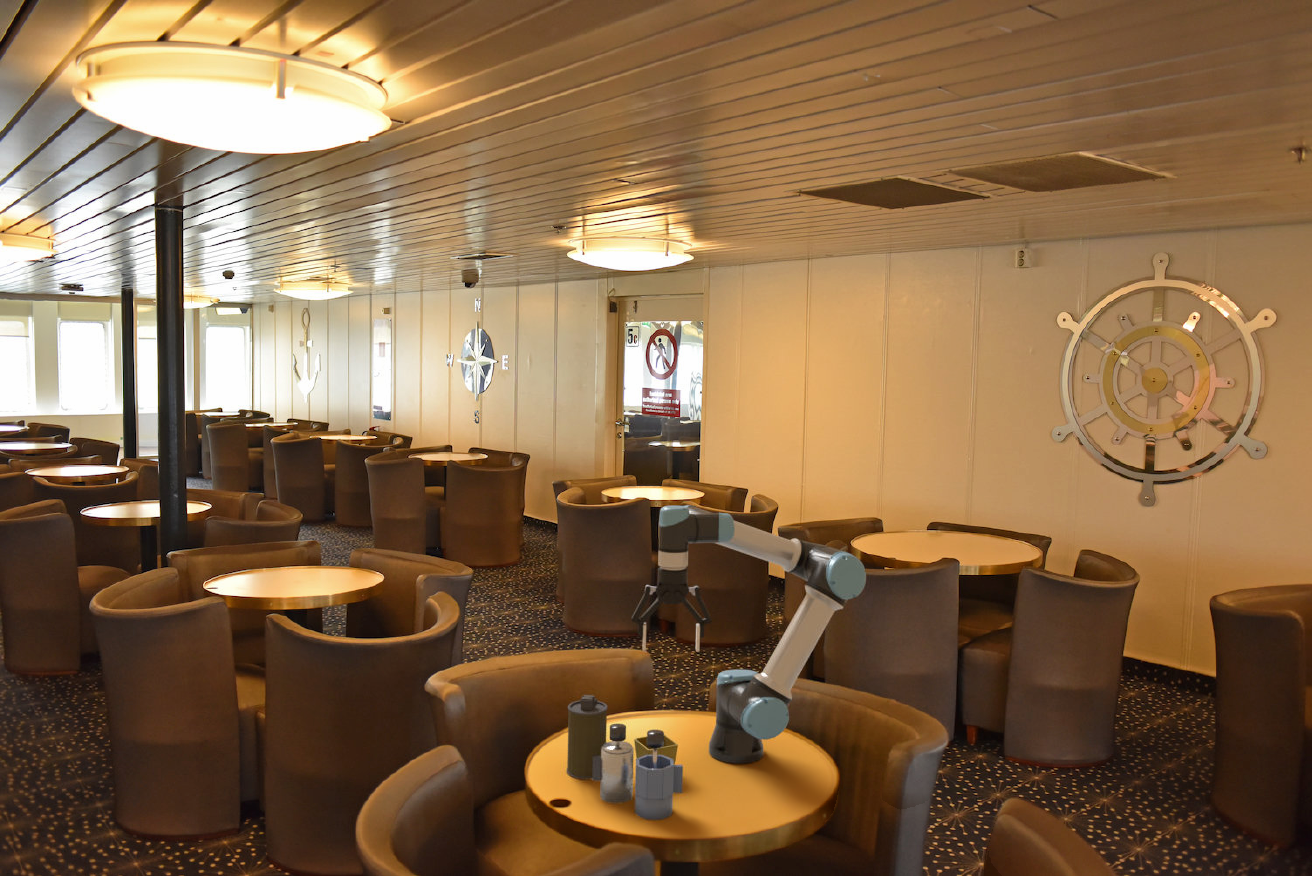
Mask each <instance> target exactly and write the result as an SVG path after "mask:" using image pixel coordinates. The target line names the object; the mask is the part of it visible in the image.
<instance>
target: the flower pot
mask: <svg viewBox="0 0 1312 876" xmlns="http://www.w3.org/2000/svg"><path fill="white" fill-rule="evenodd" d="M633 741H634V751H635V757H636V759H637V758H639V757H642V756H644V755H653V748H650V747H648V746H647V735H646V736H641V737H635V738H634V739H633ZM678 747H679V744H678V743H677V742H676V741H674V740H673V739H671V738H670V737H669V736H667V735H666V734H665V733H664V746H663V747H661V748H657V755H664V756H666V757H669V758H671V759H673V761H674V765H676V762H677V761H676V760H677V756H678V755H677V754H678Z"/></svg>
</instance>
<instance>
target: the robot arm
mask: <svg viewBox="0 0 1312 876" xmlns="http://www.w3.org/2000/svg"><path fill="white" fill-rule="evenodd" d="M690 544H717V545H719V546H723V547H725V548H728V549H731V550H733V551H737V552H740V553H742V554H745V555H747V556H748V555H749V556H751V557H754V558H756V559H760V560H763V561H766V562H767V563H768V562H769V563H771V564H775V565H778V566H780V567H781V569H782V570H783V571H785V572H787V573H790V574H793V575H794V576H796V577H799V578H800V579H802V580H803V581H805V582H806V583H805V585H804V589H805V593H806V594H805V596H804V598H803V599H802V601H801V603H800V604H799V607H798V608H797V610H796V612H795V613H794V616H793V617H792V618H791V621H790V622H789V624H788V626H787V628H786V629H785V632H784V633H783V635H782V637H781V638H780V640H779V642H778V644H777V646H776V647H775V649H774V651H773V653H772V654H771V656H770V658H769V660H768V662H767V663H766V665H765V667H764V668H763V671H761V672H760V673H759V672H757V671H755V670H751V669H728V670H723V671H721V672H719V674H718V675H717V680H716V684H715V685H716V702H715V703H716V710H715V711H716V713H715V714H716V715H715V726H714V729H713V731H712V734H711V737H710V740H709V743H708V753H709V755H710V756H711V757H713V758H714V759H716V760H719V761H721V762H725V763H731V764H750V763H755V762H757V761H759V760H761V759H762V758H763V757H764V744H763V740H764V741H765V740H771V739H774V738H776V737H778V736H779V735H780V734H783V732H784V731H785V730H786V727H787V725H788V723H789V721H790V715H789V713H790V712H789V709H788V707H789V705H790V704H791V701H792V699H793V696H792V691H791V690H792V687H793V686H794V685H795V683H796V681H797V679H798V677H799V675H800V673H801V671H802V670H803V668H804V666H805V665H806V662H807V661H808V659H809V658H810V656H811V653H812V652H813V651H814V649H815V647H816V645H817V644H818V641H819V640H820V638H821V637H822V634H823V633H824V631H825V630H826V628H827V625H828V624H829V622H830V620H831V618H832V617H833V615H834V613H835V612H836V611H839V610H843V609H844V607H845V605H846V604H847V602H848V600H852V599H853V598H857V597H858V596H859V595H860V594H861V593H862V591H863V590H864V588H865V586H866V584H867V583H866V581H867V573H866V570H865V566H864V564H863V562H862V561H861V560H860V559H859V558H858V557H856V556H855V555H854V554H852V553H849V552H847V551H845V550H841V549H837V548H834V547H832V546H828V545H825V544H821V543H820V544H819V543H812V542H809V541H804V540H802V539H798V538H796V537H795V538H791V539H788V538H785V537H782V536H779V535H776V534H773V533H770V532H767V531H765V530H762V529H759V528H757V527H753V526H751V525H748V524H745V523H742V522H739V521H736V520H734V518H733V517H732V515H731V514H730V513H723V512H717V513H716V512H715V513H714V512H711V511H708V510H706V509H703V508H700V507H697V506H695V505H689V504H687V505H675V504H674V505H665V506H662V507H661V508H660V510H659V519H658V557H657V558H658V560H657V561H658V563H657V565H658V566H659V567H658V569H657V585H656V586H652V585H650V584H646V585H645V588H644V593H643V595H642V597H641V599H640V601H639V603H638V604H637V606H636V609H635V610H634V611H633V614H632V615H631V621H632V622H633V623H636V624H638V633H637V634H638V637H639V638H642V652H646V651H647V647H646V646H647V620H649V618H650V617H651V616H652V614H654V612H656V610H657V609H658V608H659V607H660V606H661V605H662V604H663V603H664V604H666V605H671V604H673V605H679V604H681V603H682V605H683V606H684V607H685V608H686V609H687V611H688V612H689V613H690V614H691V615H692V617H693V618H694V619H695V620H696V622H698V623H695V651H696V653H697V652H699V653H700V646H701V645H700V644H701V643H700V642H701V641H700V639H704V637H705V626H706V625H707V624H711V623H712V618H711V616H710V614H709V611H708V609H707V607H706V605H705V602H704V600H703V598H702V597H701V592H700V590H701V589H700V587H699V585H697V584H696V585H693V586H690V587H689V586H688V574H689V570H688V568H687V567H688V566H689V545H690ZM654 592H655V593H656V594H657V595H658V597H656V598H655V600H654V602H652V604H651V605H650V606H649V607H648V608H647V609H646V611H644V613H643V614H642V615H641V613H642V611H643V609H644V607H645V605H646V604H647V601H648V600H649V598H650V596H651V595H653V593H654ZM689 593H691V595H692V596H695V599H696V601H697V603H698V605H699V608H700V610H701V612H702V615H703V617H704V618H703V617H701V615H700V614H699V612H698V611H697V610H696V609H695V608H694V606H693V605H692V604H691V603H690V602H689V600H688V599H687V598H686V597H687V596H688V594H689ZM640 615H641V616H640Z"/></svg>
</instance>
